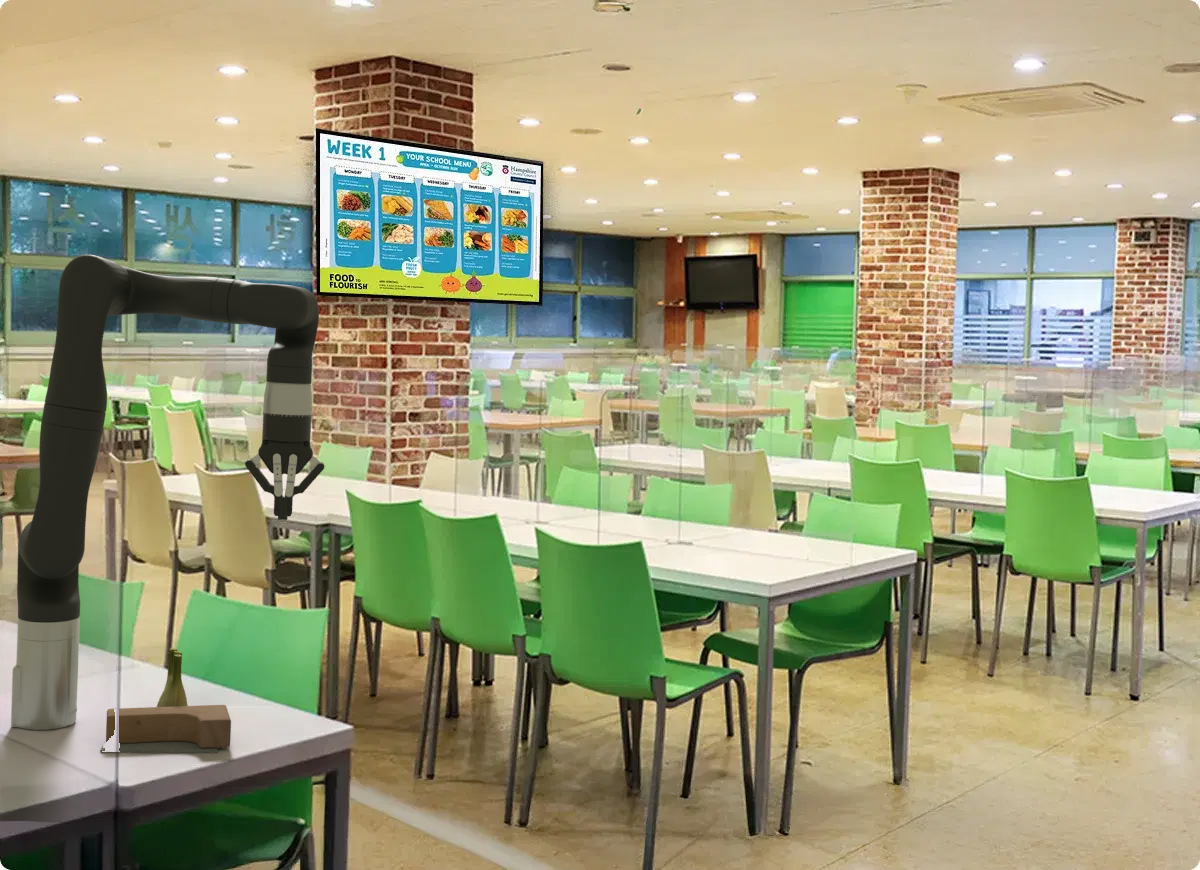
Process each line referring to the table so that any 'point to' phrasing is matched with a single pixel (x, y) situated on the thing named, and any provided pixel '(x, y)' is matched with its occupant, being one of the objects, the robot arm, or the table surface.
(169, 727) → the wooden block
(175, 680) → the fennel bulb
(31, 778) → the table surface
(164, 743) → the mat
